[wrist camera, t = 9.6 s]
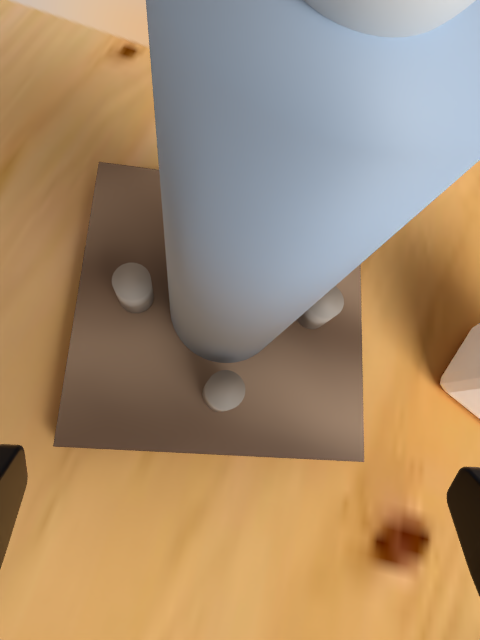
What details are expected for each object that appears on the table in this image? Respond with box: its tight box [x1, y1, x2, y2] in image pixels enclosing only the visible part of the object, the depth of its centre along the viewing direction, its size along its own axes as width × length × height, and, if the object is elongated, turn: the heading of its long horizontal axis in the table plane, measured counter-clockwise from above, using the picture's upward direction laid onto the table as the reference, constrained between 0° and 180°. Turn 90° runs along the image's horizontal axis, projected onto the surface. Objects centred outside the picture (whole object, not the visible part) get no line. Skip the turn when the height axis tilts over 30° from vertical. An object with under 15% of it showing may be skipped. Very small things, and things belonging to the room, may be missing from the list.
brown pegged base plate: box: [53, 162, 364, 462], centre depth 17 cm, size 12×12×3 cm
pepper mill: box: [146, 0, 480, 363], centre depth 10 cm, size 5×5×16 cm
